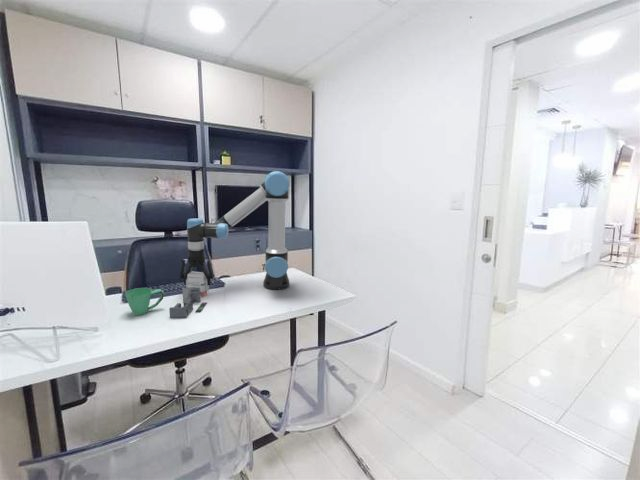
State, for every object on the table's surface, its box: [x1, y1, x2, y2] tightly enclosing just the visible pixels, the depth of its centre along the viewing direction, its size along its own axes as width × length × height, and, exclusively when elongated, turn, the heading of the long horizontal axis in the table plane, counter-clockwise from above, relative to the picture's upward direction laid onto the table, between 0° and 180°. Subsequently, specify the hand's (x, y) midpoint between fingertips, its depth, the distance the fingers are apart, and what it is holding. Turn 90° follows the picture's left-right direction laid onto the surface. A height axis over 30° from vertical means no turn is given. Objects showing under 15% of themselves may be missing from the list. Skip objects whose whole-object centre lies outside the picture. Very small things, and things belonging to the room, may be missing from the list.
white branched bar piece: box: [181, 286, 206, 307], centre depth 142 cm, size 11×8×7 cm
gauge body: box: [169, 301, 208, 319], centre depth 136 cm, size 11×17×4 cm
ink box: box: [187, 271, 208, 298], centre depth 154 cm, size 9×5×12 cm, turn 84°
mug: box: [125, 287, 165, 316], centre depth 132 cm, size 15×10×10 cm
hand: (197, 291), depth 155 cm, fingers closed on ink box, 9 cm apart
